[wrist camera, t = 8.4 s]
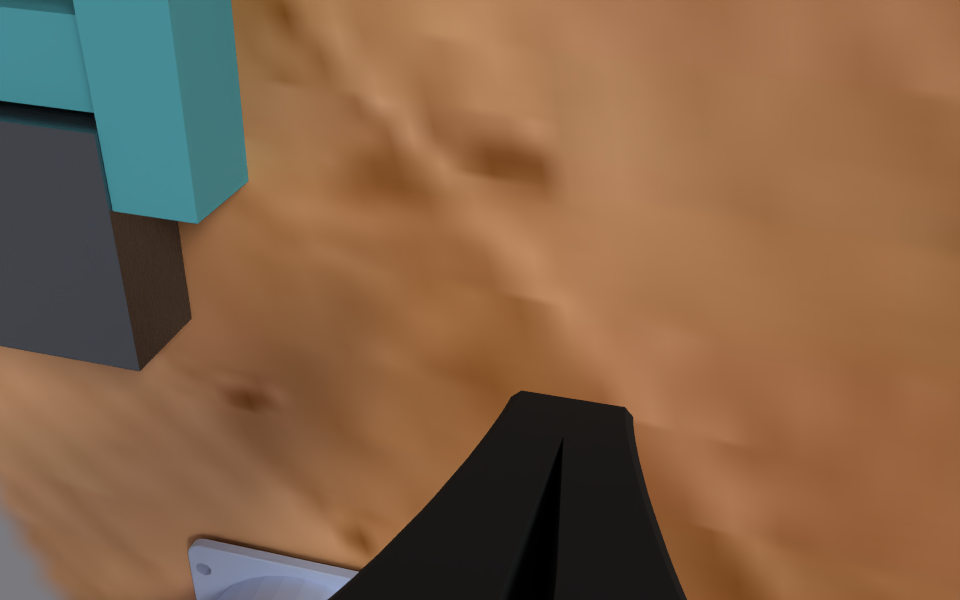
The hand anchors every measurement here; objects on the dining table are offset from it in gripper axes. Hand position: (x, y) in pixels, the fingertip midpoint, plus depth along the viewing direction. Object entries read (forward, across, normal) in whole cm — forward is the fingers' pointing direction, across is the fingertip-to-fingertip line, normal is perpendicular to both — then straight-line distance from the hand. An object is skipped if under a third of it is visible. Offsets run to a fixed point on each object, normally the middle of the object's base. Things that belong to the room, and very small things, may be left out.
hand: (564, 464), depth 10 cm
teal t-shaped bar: (+9, +13, -2) cm, 16 cm away
